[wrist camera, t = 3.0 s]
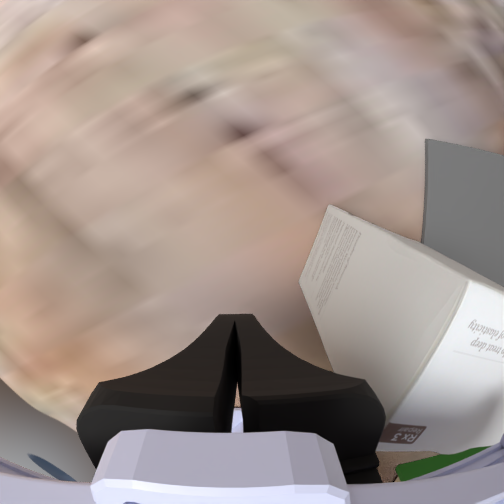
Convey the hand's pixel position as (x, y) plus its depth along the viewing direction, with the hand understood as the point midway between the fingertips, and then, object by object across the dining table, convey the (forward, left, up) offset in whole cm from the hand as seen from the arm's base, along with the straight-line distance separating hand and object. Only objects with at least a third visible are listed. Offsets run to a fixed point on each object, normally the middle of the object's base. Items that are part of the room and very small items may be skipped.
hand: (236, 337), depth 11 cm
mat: (0, -21, -9) cm, 23 cm away
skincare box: (0, -8, -10) cm, 13 cm away
